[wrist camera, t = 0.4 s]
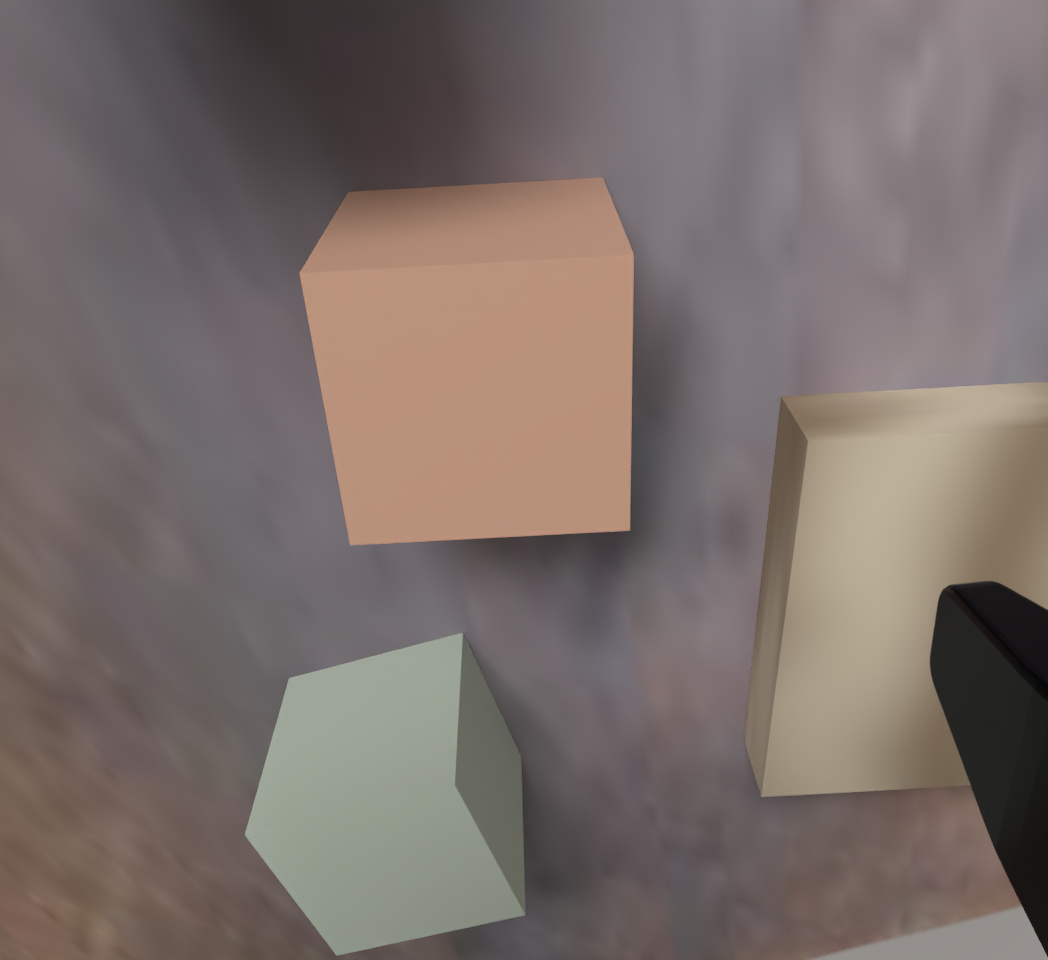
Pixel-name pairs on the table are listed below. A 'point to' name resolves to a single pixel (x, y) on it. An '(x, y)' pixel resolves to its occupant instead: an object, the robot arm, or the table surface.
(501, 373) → the terracotta cube
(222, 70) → the table surface
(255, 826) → the sage cube
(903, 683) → the plinth
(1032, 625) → the robot arm
